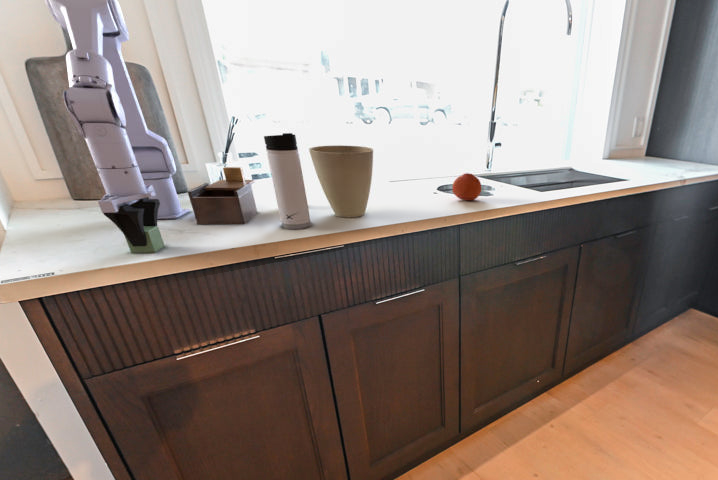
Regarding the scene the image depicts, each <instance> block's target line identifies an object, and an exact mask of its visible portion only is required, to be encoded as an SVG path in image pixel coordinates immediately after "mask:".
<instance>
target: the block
mask: <svg viewBox="0 0 718 480" xmlns="http://www.w3.org/2000/svg"><path fill="white" fill-rule="evenodd" d="M144 231H145V235H146V240H147V245H146V246H136V247H133V246H132V245H131V243H130V242H129V241H128V239H127V238H126V237H125V235H124V234H123V235H124V237H125V238H124V239H125V241H126V243H127V246H128V248H129V251H130V253H131V254H144V253H157V252H158V251H159V250H162V249H163V248H164V247H165V243H164V240H163V237H162V234H161V231H160V228H159V226H158V225H157V226H144Z"/></svg>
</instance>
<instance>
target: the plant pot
mask: <svg viewBox="0 0 718 480" xmlns="http://www.w3.org/2000/svg"><path fill="white" fill-rule="evenodd" d="M308 151H309V154H310V158H311V162H312V164H313V165H312V166H313V167H314V170H315V174H316V176H317V178H318V182H319V184H320V186H321V189H322V191H323V194H324V195H325V197H326V199H327V201H328V203H329V205H330V207H331V209H332V211H333V213H334V214H335V216H337V217H339V218H357V217H362V216H364V215H365V213H366V210H367V207H368V203H369V198H370V193H371V186H372V179H373V166H374V148H372V147H367V146H359V145H340V144H339V145H337V144H336V145H319V146H312V147H309V148H308Z"/></svg>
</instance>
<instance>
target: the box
mask: <svg viewBox="0 0 718 480" xmlns="http://www.w3.org/2000/svg"><path fill="white" fill-rule="evenodd" d="M209 185H210V184H209V182H204V183H203V184H200V185H198V186H196V187H194V188H192V189H190V190H187V195H188V198H189V201H190V205H191V208H192V212H193V215H194V218H195V221H196V224H197V225H236V224H237V225H241V224H242V225H244V224H246V223H247V222H249V221H250V220H251V219H252V218H253V217H254V216H256V215H257V213H258V209H257V204H256V201H255V196H254V192H253V188H252V185H251V183H247V184H246V185H244V186H243V187H241V188H239V189H238V190H205V187H207V186H209Z"/></svg>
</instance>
